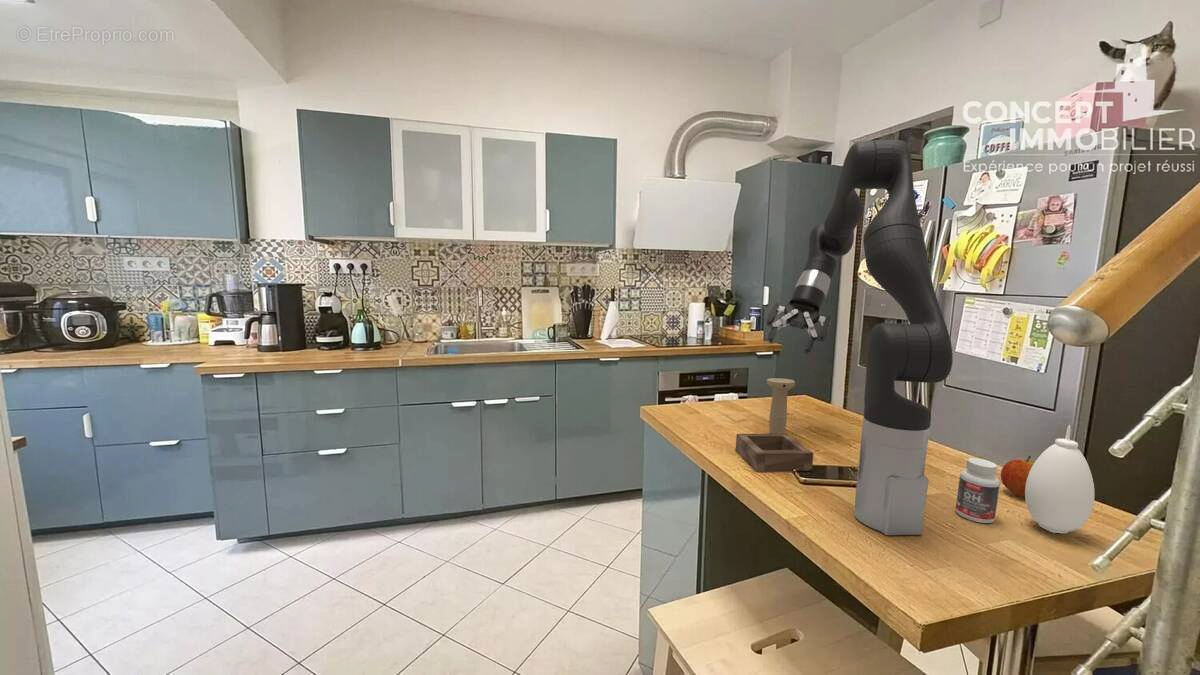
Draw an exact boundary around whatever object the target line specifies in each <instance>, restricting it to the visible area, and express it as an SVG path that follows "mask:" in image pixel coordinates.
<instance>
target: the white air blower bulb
mask: <svg viewBox="0 0 1200 675" xmlns="http://www.w3.org/2000/svg"><path fill="white" fill-rule="evenodd" d="M1071 429H1072V428H1071V424H1069V425H1068V426H1067V428H1066V434H1065V438H1056V439H1055V440H1054V444H1051V445H1050V446H1049V447H1047V448H1046V449H1045V450H1044V451H1043V452H1042V453H1041V454H1040V455H1039V456H1038V457H1037V459H1036V460H1035V461H1034V462H1035V463H1034V464H1033V466H1032V468H1031V470H1030V472H1029V475H1028V478H1027V481H1026V487H1025V498H1024V500H1025V504H1026V507H1027V510H1028V512H1029V514H1030V516H1031V518H1032V519H1033V520H1034V521H1036V522H1037V524H1038V525H1039V526H1040V527H1041V528H1043V529H1046V530H1045V531H1047V530H1048V531H1050V532H1049V533H1051V532H1053V533H1052V534H1055V533H1060V534H1068V533H1069V532H1075V531H1077V530H1079V529H1080V528H1082V527H1083V526H1084V524H1085V523H1086V522H1087V521H1088V520H1089V518H1090V516H1091V514H1092V511H1093V508H1094V504H1095V484H1094V480H1093V475H1092V471H1091V469H1090V468H1091V467H1090V466H1089V464H1088V462H1087V459H1086V458H1085V456H1084V455H1083V453H1082V452H1081V450H1080V449H1079V443H1078V442H1077V441H1075V440H1071V439H1070V438H1071ZM1048 531H1047V532H1048Z"/></svg>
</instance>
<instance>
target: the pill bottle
mask: <svg viewBox="0 0 1200 675" xmlns="http://www.w3.org/2000/svg"><path fill="white" fill-rule="evenodd" d="M997 469H998V465H997V464H996V463H995V462H992V461H989V460H987V459H983V458H977V457H970V458H968V459H967V460H966V469H963V470H962V471H961V472H960V473H959V480H958V481H959V482H958V489H957V496H956V502H955V512H956V513H957V514H958V515H959V516H961V517H963V518H965V519H967V520H969V521H972V522H975V523H976V522H977V523H980V524H991V523H993V522H995V519H996V514H997V506H998V501H999V493H1000V487H1001V481H1000V479H999V478H998V477H997V476H996V474H997Z"/></svg>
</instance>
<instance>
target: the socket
mask: <svg viewBox="0 0 1200 675" xmlns="http://www.w3.org/2000/svg"><path fill="white" fill-rule="evenodd" d="M735 440H736V441H735V451H736V453H737V454H739V456H740V457H742V459H743V460H744V461H745V462H746V463H747V464H748V465H749V466H750V467H751V468H752V469H753V470H754V471H755V472H756V473H763V472H764V473H765V472H766V473H767V472H769V473H771V472H772V473H774V472H779V473H782V472H789V473H790V472H794V471H793V470H794V469H795V468H812V469H813V462H814V452H813V451H811V450H810V449H809V448H808V447H806V446H805V445H803V444H802V443H800V441H798V440H796V439H795V438H794V437H792V436H791V435H790V434H788V433H786V432H785V433H777V434H770V433H736V436H735Z"/></svg>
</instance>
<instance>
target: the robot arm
mask: <svg viewBox="0 0 1200 675" xmlns="http://www.w3.org/2000/svg"><path fill="white" fill-rule="evenodd" d="M837 183H838V184H837V186H836V191H835V196H834V199H833V204H832V205H831V208H830V209H829V212H828V213H827V216H826V218H825V220H824V222H823V223H818V224H816V225H815V226H814V227H813V228H812V230H811V231H810V233H809V234H810V235H809V240H808V255H807V260H806V263H805V265H804V268H803V270H802V272H801V275H800V277H799V278H798V281H797V282H796V285H795V288H794V290H793V292H792V295H791V297H790V299H789V302H788V304H787V305H786V306H783V305H780V303H779V302H775V303H773V306H772V307H771V309H770V311H769V314H768V315H767V318H766V320H765V321H766V327H768V328H770V330H769V333H768V335H767V340H768V341H769V344H772V345H773V344H774V343H775V342H774V341H775V339H776V336H777V334H778V330H780V329H782V328H786V327H787V326H788V325H789V326H790V327H792V328H798V329H800V330H805V329H806V331H807V334H808V335H809V338H808V342H807V344H806V347H805V348H804V354H806V355H808V354H809V353H810V354H811V353H812V352H813V351H814V347H815V344H816V343H817V342H819V341H820V342H826V340H827V337H828V332H829V329H830V326H831V323H832V322H831V321H832V316H831V315H826V316H824V315H823V316H822V315H821V314H820V312H821V311H822V308H823V304H824V303H825V299H826V297H827V296H828V292H829V288H830V284H831V280H832V279H833V275H834V273H835V270H836V267H837V261H836V260H835V258H834V257H843V256H845V255H847V254H848V253H849V252H850V251H851V250H852V248H853V244H854V239H855V229H856V227H857V225H858V224H859V223H860V221H861V220H862V217H863V214H864V205H863V201H862V199H861V198H860V195H858V193H857V191H856V190H855V189H858V190H886V192H887V193H888V198H887V200H886V201H885V203H884V204H883V206H882V207H881V208H880V209H879V211H878V212H877V213H876V214H875V215H874V216H873V218H872V219H871V221H870V222H869V224H868V226H867V227H866V229H865V231H864V234H863V238H862V239H863V240H862V241H863V249H864V258H865V264H866V269H867V270H868V273H869V274H870V275H871V277H872V278H873V279H874V280H875V282H876V283H877V284H878V285H879V286H880V287H881V288H882V289H883V290H884V291H885V292H886V293H888V295H889V296H891V297H892V299H894V300H895V301H896V303H898V305H899V306H900V307H901V309H902V310H903V312H904V313H905V316H906V318H907V320H908V323H901V322H900V323H899V322H896V323H895V322H882V323H881V322H880V323H877V324H875V325H874V327H872V329H871V330H870V332H869V335H868V340H867V345H866V359H865V362H866V364H865V367H866V368H865V384H864V398H863V399H864V408H863V420H862V428H861V435H860V436H861V438H860V447H859V456H858V457H859V458H858V466H857V478H856V486H855V487H856V488H855V496H854V497H855V498H854V508H853V515H854V517H855V518H856V519H857V520H858V521H859V522H860V523H862V524H864V525H865V526H867V527H869V528H871V529H873V530H875V531H879V532H880V533H882V534H884V535H885V536H907V535H908V536H915V535H918V536H920V535H922V534H923V528H924V519H925V512H926V503H927V495H928V494H927V493H928V487H929V478H928V477H927V476H925V471H926V470H925V469H926V463H927V453H928V446H929V438H930V437H929V436H930V430H931V429H930V428H931V423H932V412H931V411H930V409H929V408H928V407H927V406H926V405H924V404H922V403H920V402H917V401H914V400H911V399H909V398H906V397H904V396H902V395H900V394H899V393H897V391H896V389H895V382H908V383H927V384H928V383H929V384H933V383H934V384H935V383H940V382H941V383H942V382H943V381H945V380H946V379H947V378H948V377H949V375H950V373H951V371H952V367H953V358H954V357H953V347H952V341H951V337H950V333H949V330H948V327H947V325H946V321H945V318H944V315H943V312H942V310H941V306H940V303H939V300H938V297H937V295H936V292H935V287H934V284H933V280H932V274H931V270H930V265H929V259H928V258H929V257H928V252H927V247H926V242H925V238H924V232H923V229H922V225H921V221H920V216H919V211H918V207H917V202H916V196H915V195H916V194H915V188H914V174H913V163H912V155H911V150H910V147H909V145H908V143H907V142H906V141H904V140H900V139H875V140H874V139H873V140H870V139H869V140H860V141H857V142H855V143H853V144H852V145H851V146H850V148H849V149H848V152H846V155H845V158H844V161H843V165H842V168H841V171H840V175H839V179H838V182H837ZM831 255H832V256H834V257H832V256H831ZM781 313H784V315H783V316H781V317H780V318H779V319H778V320H776V321H775V319H776V317H777V315H780V314H781ZM818 322H820V325H821V326H822V329H821V332H820V333H817V331H816V328H815V324H817V323H818Z"/></svg>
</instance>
